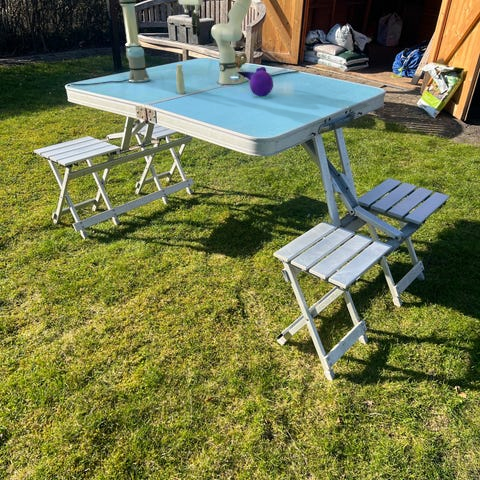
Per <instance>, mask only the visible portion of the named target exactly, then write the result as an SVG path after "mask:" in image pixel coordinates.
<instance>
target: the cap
mask: <svg viewBox="0 0 480 480" xmlns="http://www.w3.org/2000/svg"><path fill="white" fill-rule="evenodd" d="M175 69H176V70H177V69H181V70H182V69H183V64H181V63H178V64H175Z"/></svg>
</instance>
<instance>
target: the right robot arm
mask: <svg viewBox="0 0 480 480" xmlns="http://www.w3.org/2000/svg"><path fill="white" fill-rule="evenodd" d="M177 1H178V4H179V5H182V7H183V10H184V13H185V14H188V13H189V9H188V6H190V5H195V10H194V13H198V12H199V11H198V8H199V5H200V6H203V4H204V0H177ZM251 6H252V0H235V1H234V3H233V4H232V6H231V8H230V10H229V11H228V13H227V16H228V22H227V23H216V24H214V25H212V27H211V30H210V31H211V32H210V34H211V37H212V38H213V39H214V40H215V42H216V45H217V48H218V55H219V63H218V65H219V66H218V67H219V75H218V76H219V77H218V84H220V85H240V84H243V83H246V82H248V78H246V77H244V76H242V75H240V74H239V73H237V72H243V70H241V68H240V69H239V68H238V67H237V65H239V64H240V63H239V62H235V52H236V50H235V49H234V47H233V46H232V43H235V42H239V41H240V40H241V39H242V37H243V28H242V24H243V22H244V20H245V18H246V16H247V14H248V12H249V10H250V8H251ZM231 42H232V43H231ZM299 72H300V70H293V71H285V72H280V73H275V74H270V76H271V77H276V76H280V75H286V74H293V73H299Z"/></svg>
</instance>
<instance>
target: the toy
mask: <svg viewBox="0 0 480 480" xmlns="http://www.w3.org/2000/svg"><path fill="white" fill-rule="evenodd" d="M237 73H239V74H240V75H242V76H244V77H246V78H245V79H247V80H249V89H250V91H251V93H253V95H255V96H256V97H267V96H268V95H269V94H270V93H271V92H272V90H273V89H274V78H273V76H270V75H271V74H270V73H269V72H267V69H266V67H264V66H260V67H258V68H256V69H255V72H252V71H242V72H237Z"/></svg>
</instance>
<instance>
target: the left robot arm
mask: <svg viewBox="0 0 480 480" xmlns="http://www.w3.org/2000/svg"><path fill="white" fill-rule="evenodd" d="M119 5H120V6H121V8H122V13H123V22H124V29H125V35H126V36H125V38H126V43H125V56H126V59H127V60H128V66H129V76H128V79H124V80H108V81H100V82H94V83H73V82H72V83H70V84H71V85H69V84H67V87H70V86H90V85H91V86H92V85H100V84H108V83H109V84H110V83H124V82H127V81H128V82H129V83H133V84H141V83H148V82H150V76H149V74H148V71H147V67H146V59H145V50H144V48H143V47H142V43H140V42H139V41H140V40H139V34H138V25H137V17H136V8H135V6H136V5H137V0H119ZM194 10H195V5H189V11H191V26H192V35H194V36H195V35H196V37H201V20H200V13H199V11H201V5H199V8H198V13H194ZM73 134H75V135H76V130H75V129H73Z"/></svg>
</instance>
